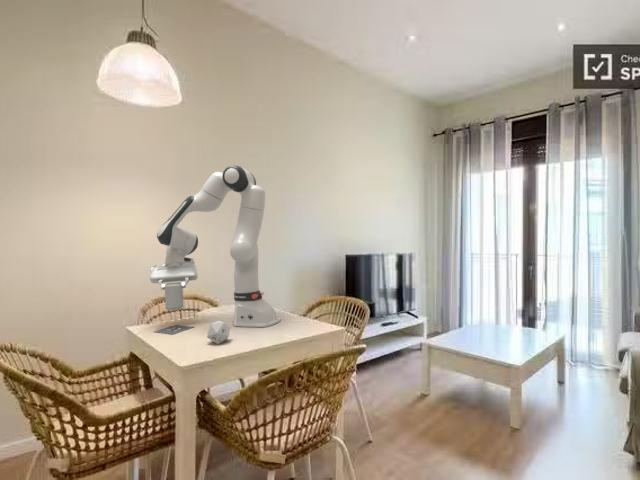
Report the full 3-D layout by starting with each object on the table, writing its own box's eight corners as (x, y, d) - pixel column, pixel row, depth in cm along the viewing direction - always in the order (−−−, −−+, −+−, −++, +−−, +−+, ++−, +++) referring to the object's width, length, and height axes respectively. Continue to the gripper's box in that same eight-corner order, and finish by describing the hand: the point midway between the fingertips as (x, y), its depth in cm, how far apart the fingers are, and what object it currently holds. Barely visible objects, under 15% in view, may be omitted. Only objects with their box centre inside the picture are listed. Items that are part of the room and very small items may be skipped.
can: (176, 309, 156) (175, 281, 157) (161, 310, 157) (160, 283, 159) (186, 308, 163) (185, 281, 165) (172, 309, 165) (171, 282, 166)
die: (204, 348, 134) (215, 328, 131) (201, 331, 140) (212, 313, 138) (224, 350, 138) (236, 332, 136) (221, 335, 145) (232, 317, 142)
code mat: (194, 327, 162) (194, 326, 162) (172, 334, 151) (172, 334, 151) (175, 325, 168) (175, 324, 168) (153, 332, 157) (153, 331, 157)
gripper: (150, 261, 165) (146, 285, 156) (196, 258, 170) (196, 281, 161) (152, 270, 169) (149, 294, 160) (198, 267, 175) (197, 290, 165)
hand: (173, 287), depth 161 cm, fingers closed on can, 7 cm apart
